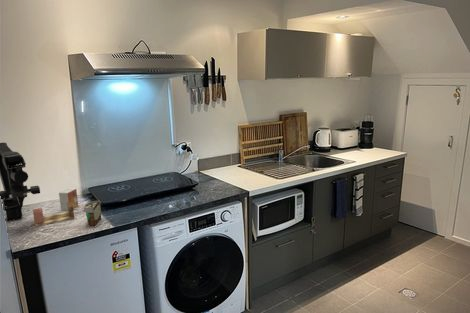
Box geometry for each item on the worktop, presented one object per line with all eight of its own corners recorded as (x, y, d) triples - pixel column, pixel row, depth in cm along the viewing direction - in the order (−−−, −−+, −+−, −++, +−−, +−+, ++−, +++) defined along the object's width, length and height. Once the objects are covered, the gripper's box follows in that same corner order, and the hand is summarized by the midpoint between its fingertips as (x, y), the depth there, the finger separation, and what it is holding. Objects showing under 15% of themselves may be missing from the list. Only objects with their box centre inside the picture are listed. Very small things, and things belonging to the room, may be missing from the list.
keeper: (34, 223, 171) (33, 213, 170) (34, 219, 176) (32, 209, 175) (44, 221, 173) (42, 211, 172) (43, 217, 178) (41, 207, 177)
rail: (35, 227, 171) (33, 213, 169) (34, 221, 177) (32, 208, 176) (74, 218, 180) (72, 206, 178) (72, 214, 187) (70, 202, 185)
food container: (90, 218, 180) (88, 200, 178) (102, 218, 181) (100, 200, 178) (82, 228, 168) (79, 209, 166) (94, 227, 169) (92, 208, 166)
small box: (69, 210, 191) (67, 193, 189) (60, 210, 192) (58, 192, 190) (78, 205, 199) (76, 188, 197) (70, 205, 200) (68, 188, 198)
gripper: (-9, 186, 155) (-3, 218, 158) (38, 179, 164) (43, 210, 168) (-8, 180, 164) (-2, 211, 167) (37, 174, 173) (41, 203, 177)
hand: (20, 209), depth 169 cm, fingers closed
